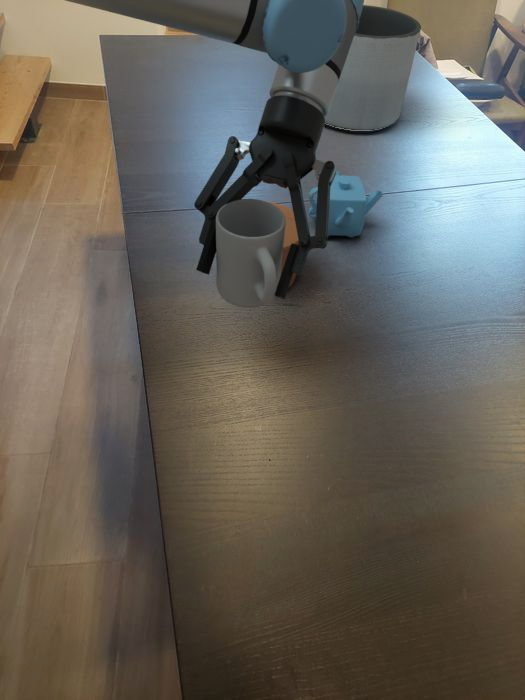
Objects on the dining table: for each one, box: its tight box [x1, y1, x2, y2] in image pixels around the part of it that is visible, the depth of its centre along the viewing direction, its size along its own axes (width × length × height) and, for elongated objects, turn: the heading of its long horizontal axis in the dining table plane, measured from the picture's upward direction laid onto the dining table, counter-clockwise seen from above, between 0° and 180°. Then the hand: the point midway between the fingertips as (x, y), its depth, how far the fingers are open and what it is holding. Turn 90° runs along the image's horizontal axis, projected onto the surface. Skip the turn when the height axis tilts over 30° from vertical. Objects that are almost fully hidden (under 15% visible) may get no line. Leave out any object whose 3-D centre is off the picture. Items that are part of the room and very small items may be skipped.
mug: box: [215, 198, 286, 309], centre depth 64 cm, size 12×8×11 cm
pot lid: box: [268, 201, 299, 250], centre depth 82 cm, size 13×13×4 cm
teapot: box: [307, 170, 384, 238], centre depth 97 cm, size 18×14×10 cm
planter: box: [324, 4, 422, 133], centre depth 128 cm, size 25×25×22 cm
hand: (240, 284), depth 63 cm, fingers closed on mug, 10 cm apart
